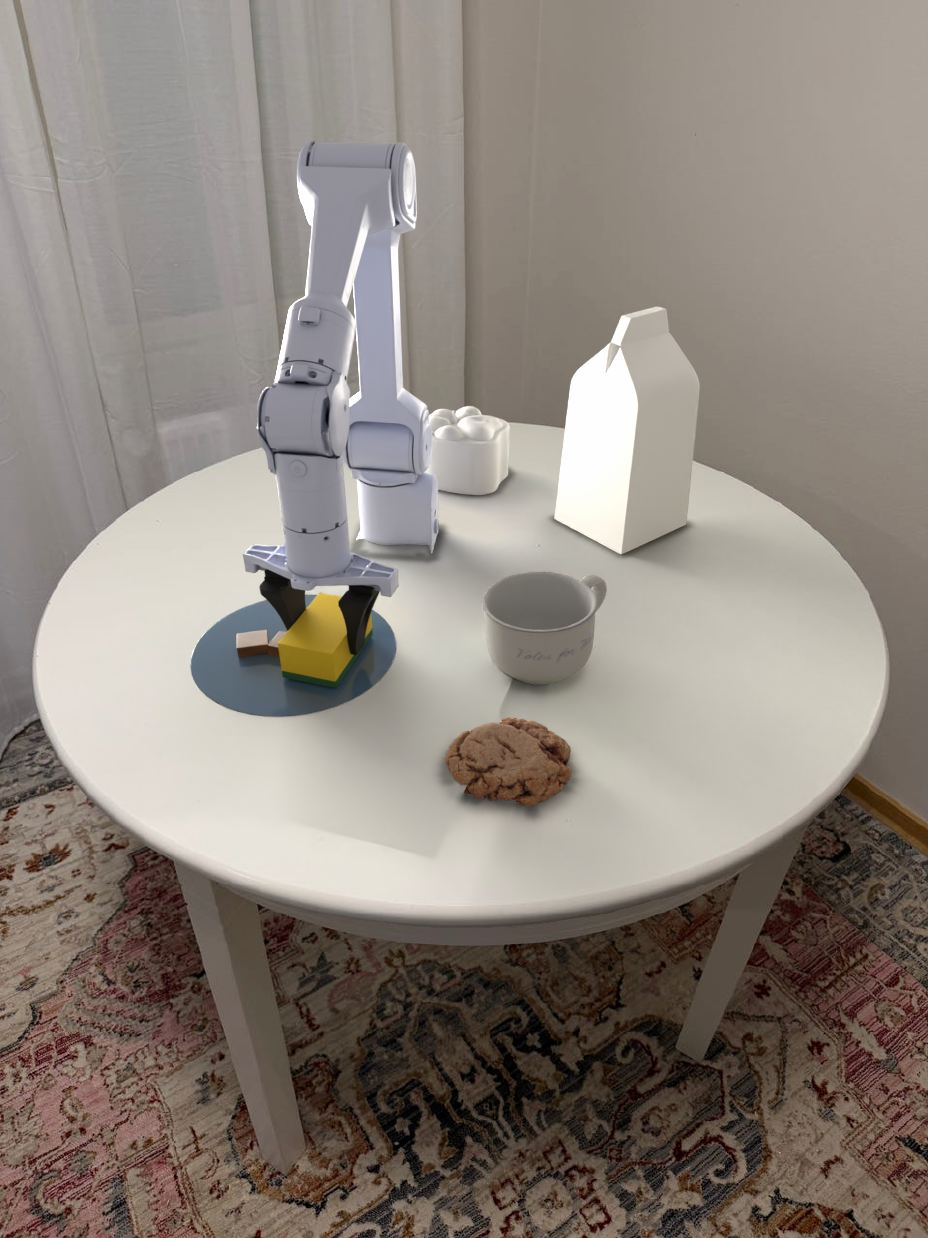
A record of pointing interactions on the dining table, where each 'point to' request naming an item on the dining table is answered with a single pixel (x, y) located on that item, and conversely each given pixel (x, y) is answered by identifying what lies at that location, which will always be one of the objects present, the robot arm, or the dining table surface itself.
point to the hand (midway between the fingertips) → (327, 643)
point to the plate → (279, 667)
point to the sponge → (319, 644)
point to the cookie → (510, 761)
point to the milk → (630, 437)
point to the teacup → (541, 624)
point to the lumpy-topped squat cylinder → (468, 451)
